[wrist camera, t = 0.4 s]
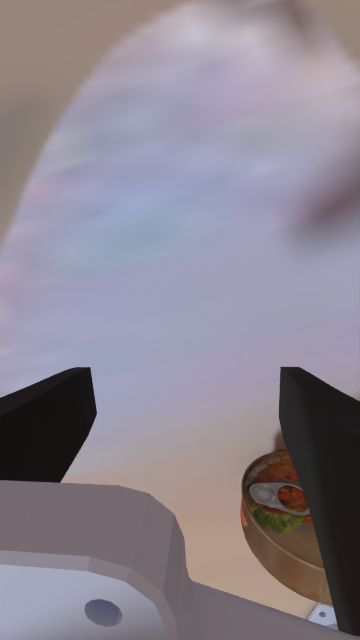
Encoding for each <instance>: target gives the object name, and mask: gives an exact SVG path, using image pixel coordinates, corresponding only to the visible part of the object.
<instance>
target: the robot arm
mask: <svg viewBox="0 0 360 640" xmlns="http://www.w3.org/2000/svg"><path fill="white" fill-rule="evenodd" d="M96 415H97V411H96V404H95V397H94V390H93V383H92V376H91V369H90V367H75V368H71V369H68V370H65V371H63V372H60V373H58V374H55V375H53V376H51V377H49V378H46V379H44V380H42V381H40V382H37V383H35V384H33V385H30V386H28V387H26V388H23V389H21V390H18V391H16V392H14V393H11V394H9V395H6V396H4V397H1V398H0V640H360V401H358V400H356V399H354V398H352V397H350V396H348V395H346V394H344V393H343V392H341V391H339V390H337V389H335V388H334V387H332V386H330V385H329V384H327V383H325V382H324V381H322V380H320V379H319V378H317V377H315V376H314V375H312V374H311V373H309V372H307V371H305V370H304V369H302V368H300V367H281V372H280V398H279V420H280V425H281V429H282V434H283V438H284V442H285V444H286V447H287V450H288V453H289V455H290V458H291V461H292V463H293V466H294V469H295V471H296V474H297V477H298V479H299V482H300V485H301V487H302V490H303V493H304V495H305V498H306V501H307V504H308V507H309V511H310V514H311V518H312V522H313V526H314V530H315V534H316V537H317V541H318V545H319V549H320V553H321V557H322V562H323V566H324V570H325V574H326V578H327V582H328V586H329V591H330V595H331V600H332V604H333V605H328V604H324V603H320V602H318V604H317V605H316V607H315V608H314V610H313V611H312V613H311V614H310V616H309V617H308V619H307V620H306V619H303V618H300V617H297V616H294V615H291V614H288V613H285V612H283V611H280V610H277V609H274V608H271V607H268V606H265V605H262V604H259V603H256V602H253V601H250V600H247V599H244V598H241V597H239V596H236V595H233V594H230V593H227V592H224V591H221V590H218V589H215V588H212V587H209V586H206V585H203V584H200V583H197V582H194V581H192V580H191V579H190V578H189V575H188V571H187V567H186V556H185V540H184V537H183V534H182V532H181V529H180V527H179V524H178V522H177V519H176V517H175V514H174V513H173V512H171V511H170V510H169V509H168V508H166V507H165V506H164V505H163V504H161V503H160V502H159V501H158V500H156V499H155V498H154V497H153V496H151V495H150V494H149V493H146V492H142V491H138V490H134V489H131V488H127V487H123V486H118V485H96V484H73V483H60V482H61V480H62V479H63V477H64V475H65V474H66V472H67V470H68V469H69V467H70V465H71V464H72V462H73V460H74V459H75V457H76V455H77V454H78V452H79V450H80V449H81V447H82V445H83V443H84V442H85V440H86V438H87V436H88V434H89V432H90V430H91V428H92V425H93V423H94V420H95V417H96Z"/></svg>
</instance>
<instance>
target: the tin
mask: <svg viewBox="0 0 360 640" xmlns="http://www.w3.org/2000/svg"><path fill="white" fill-rule="evenodd" d="M241 523H242V528H243V531H244V535H245V538H246V540H247V543H248V545H249V547H250V549H251V550H252V552H253V554H254V555H255V557H256V558H257V559H258V560H259V562H260V563H261V564H262V565H263V567H264V568H265V569H266V570H267V571H268V572H269V573H270V574H271V575H272V576H273V577H275V578H276V579H277V580H278V581H279V582H281V583H282V584H283V585H285V586H286V587H288V588H289V589H291V590H292V591H294V592H296V593H297V594H299V595H302V596H304V597H306V598H308V599H311V600H314V601H316V602H320V603H324V604H328V605H333V604H332V600H331V595H330V591H329V586H328V582H327V578H326V574H325V570H324V566H323V562H322V557H321V553H320V549H319V545H318V541H317V537H316V534H315V530H314V526H313V522H312V518H311V514H310V511H309V507H308V504H307V501H306V498H305V495H304V493H303V490H302V487H301V485H300V482H299V479H298V477H297V474H296V471H295V469H294V466H293V463H292V461H291V458H290V455H289V453H288V451H280V452H273V453H269V454H266V455H263V456H261V457H259V458H258V459H256V460H255V461H253V462H252V463H251V464H250V465H249V467H248V468H247V469H246V471H245V473H244V476H243V479H242V500H241Z"/></svg>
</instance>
